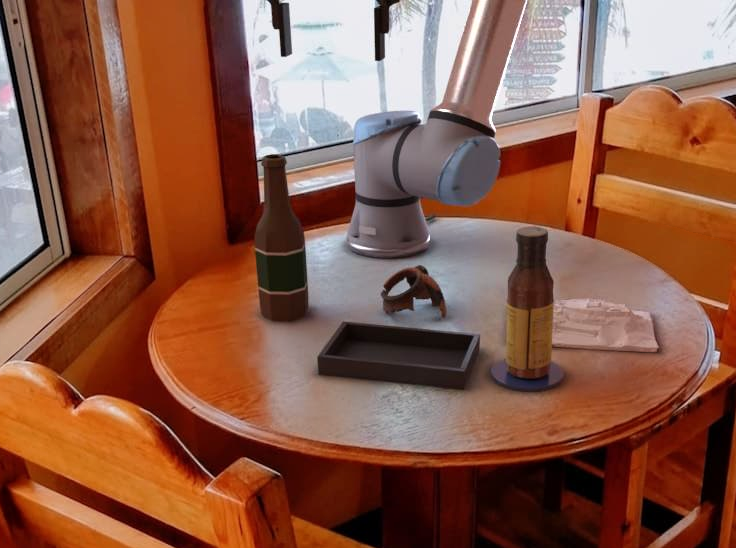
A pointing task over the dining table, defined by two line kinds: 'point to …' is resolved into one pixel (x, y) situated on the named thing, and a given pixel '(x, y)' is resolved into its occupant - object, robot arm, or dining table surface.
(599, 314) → the terrain model
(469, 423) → the dining table surface
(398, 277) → the brown broken pot
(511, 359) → the sauce bottle
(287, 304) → the beer bottle
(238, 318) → the dining table surface
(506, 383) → the coaster
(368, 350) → the tray
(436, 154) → the robot arm
